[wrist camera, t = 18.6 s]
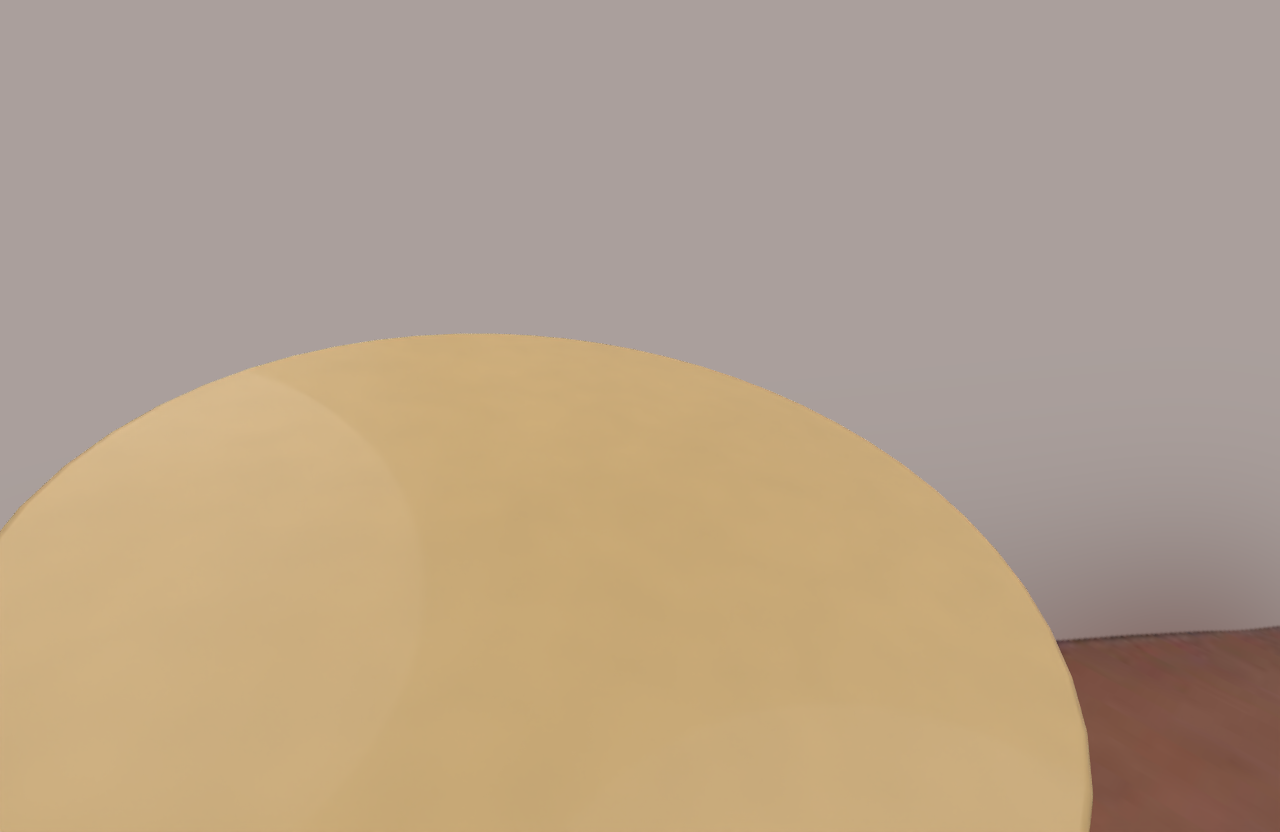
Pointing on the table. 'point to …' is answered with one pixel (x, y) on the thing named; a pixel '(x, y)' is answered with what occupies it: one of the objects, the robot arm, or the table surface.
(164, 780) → the hat
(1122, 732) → the table surface
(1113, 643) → the table surface
